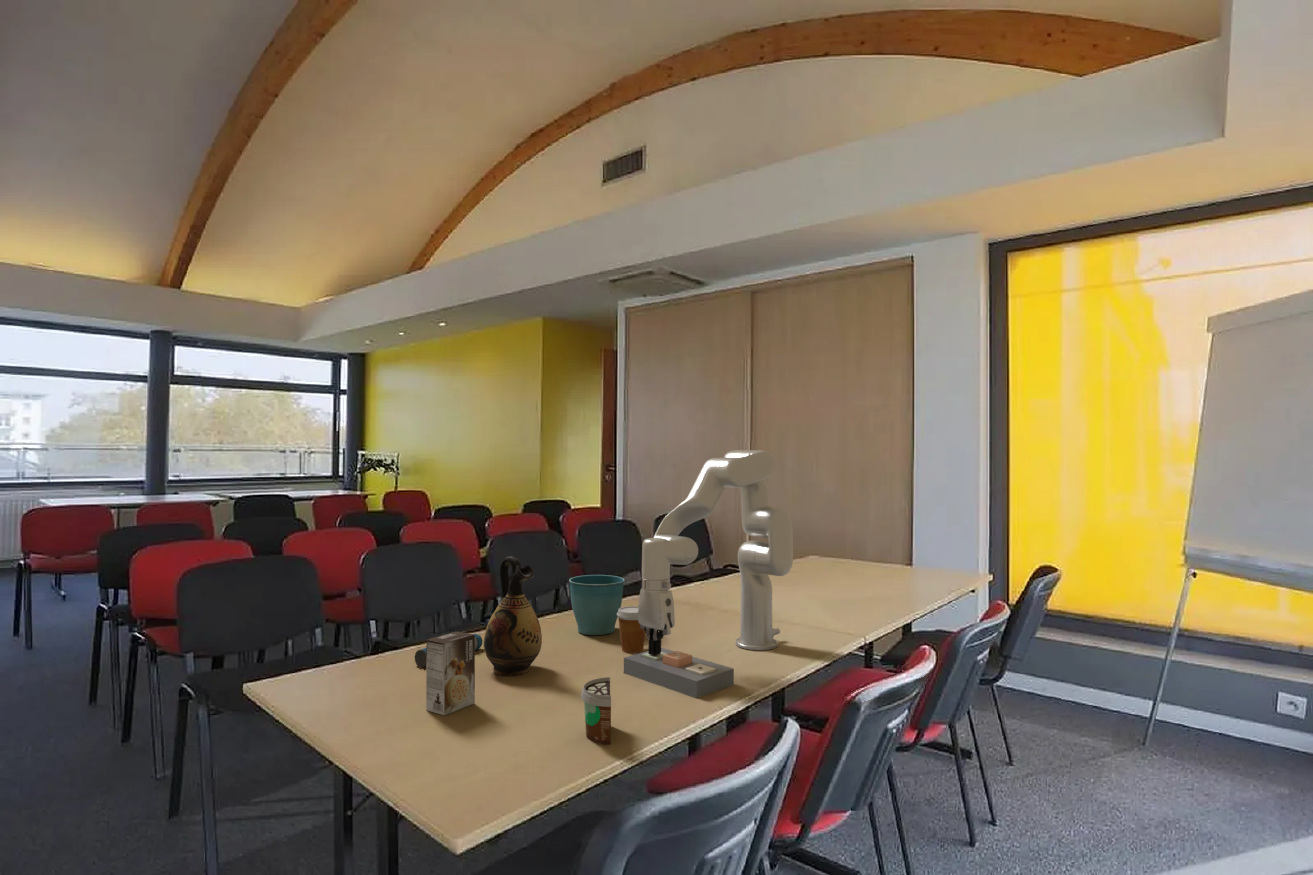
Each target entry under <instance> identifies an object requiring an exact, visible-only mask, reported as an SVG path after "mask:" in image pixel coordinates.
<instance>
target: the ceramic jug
mask: <svg viewBox="0 0 1313 875" xmlns="http://www.w3.org/2000/svg"><path fill="white" fill-rule="evenodd" d="M510 566H511V572H510V573H509V569H510ZM534 576H535V574H534V569H533V568H532V567H531V565H529V564H526V565H525V566H523V567H522V564H521V561H520V560H519V559H518V558H517V557H514V556H512V555H511V556H506V557H505V558H503V560H502V561H501V563H500V566H499V580H500V588H501V596H502V597H501V600H500V603H499V604H497V607H496V609H495V610H494V612H493V613H492V615H491V617H490V619H489V621H488V623H487V625H486V628H485V632H484V638H483V651H484V653H485V656H486V657H487V660H488V661H489V662H490V663H491V664H492V666H493V668H492V669H493V672H494V673H495V674H496V675H499V676H501V677H506V676H507V677H508V676H513V677H515V676H522V675H523V674H526V673H528V672H529V671H530V670H529V668H530V666H531V665H532V664H533V662H534V661H535V660H536V659H537V657H538V656H539V655H540V653H541V649H542V643H543V641H542V640H543V635H542V634H543V633H542V629H541V623H540V622H539V619H538V618H539V617H538V616H537V614H536V612H535V610H534V608H533V607H532V605H531V603H530V601H529V600H528V598H527V597H526V595H525V593H524V592H523V583H524V582H526V581H528V580H530V579H533V578H534Z"/></svg>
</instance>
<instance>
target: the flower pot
mask: <svg viewBox="0 0 1313 875" xmlns="http://www.w3.org/2000/svg"><path fill="white" fill-rule="evenodd" d="M568 582H569V588H570V589H569V590H570V602H571V608H572V612H573V615H574V618H575V621H576V625H577V631H578V633H580V634H582V635H587V636H588V635H589V636H603V635H609V634H612V633H614V632H615V630H616V623H617V620H618V616H617V613H618V609H619V608H622V605H623V604H622V603H623V593H624V584H625V578H623V577H620V576H616V575H605V574H586V575H578V576H574V577H570V578H569V580H568Z"/></svg>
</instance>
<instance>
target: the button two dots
mask: <svg viewBox="0 0 1313 875" xmlns="http://www.w3.org/2000/svg"><path fill="white" fill-rule="evenodd" d="M665 654H667V653H663V652H661V653H660V654H657V655H650V654H648V653H644V654H642V657H644V658H647V659H650V660H654V661H658V660H661V659H663V655H665Z"/></svg>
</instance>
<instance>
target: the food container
mask: <svg viewBox="0 0 1313 875" xmlns="http://www.w3.org/2000/svg"><path fill="white" fill-rule="evenodd" d="M580 699H581V700H582V701H583V705H584V722H585V736H586V739H587V740H589V741H591V742H593V743H597V744H602V745H612V737H611V736H612V695H611V677H610V676H608V677H607V676H606V677H598V678H595V679H591V680H589V681H587V682H585V683H584V685H583V686H582V689H581V695H580Z"/></svg>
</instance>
